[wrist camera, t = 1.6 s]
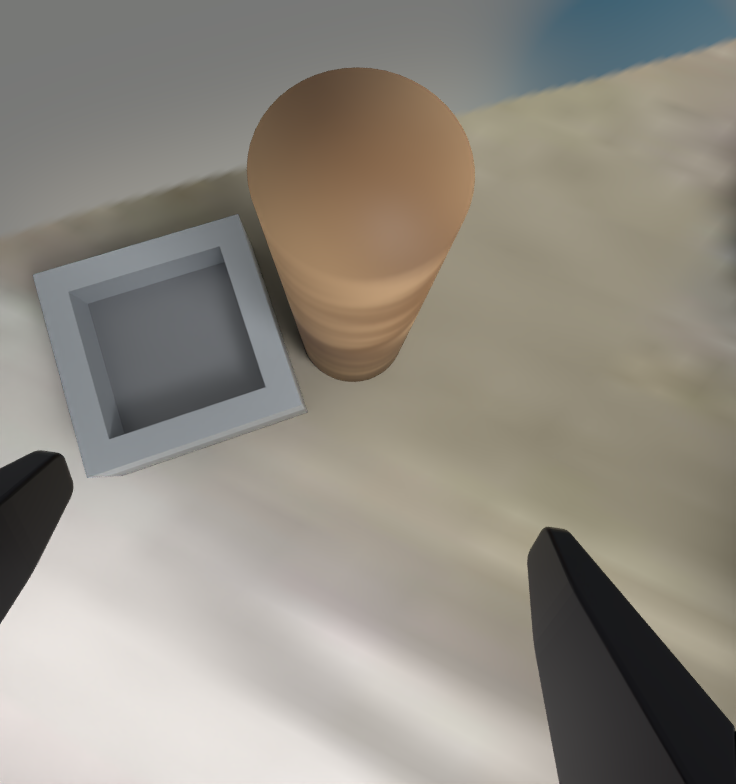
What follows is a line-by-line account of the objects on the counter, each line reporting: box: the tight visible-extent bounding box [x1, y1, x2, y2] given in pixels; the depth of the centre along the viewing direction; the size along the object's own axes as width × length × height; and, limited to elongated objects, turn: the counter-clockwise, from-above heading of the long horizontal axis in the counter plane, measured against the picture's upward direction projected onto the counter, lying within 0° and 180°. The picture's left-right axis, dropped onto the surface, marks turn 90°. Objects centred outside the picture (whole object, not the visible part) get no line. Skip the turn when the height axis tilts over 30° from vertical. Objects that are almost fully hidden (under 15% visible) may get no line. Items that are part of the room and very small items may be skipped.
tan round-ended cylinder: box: [247, 68, 475, 382], centre depth 16 cm, size 5×5×13 cm
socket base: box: [33, 214, 308, 478], centre depth 21 cm, size 9×9×3 cm
